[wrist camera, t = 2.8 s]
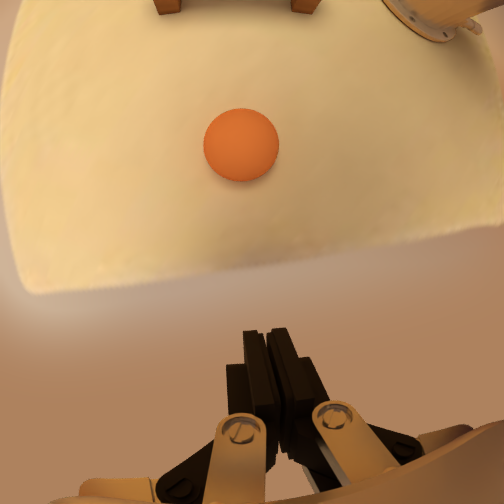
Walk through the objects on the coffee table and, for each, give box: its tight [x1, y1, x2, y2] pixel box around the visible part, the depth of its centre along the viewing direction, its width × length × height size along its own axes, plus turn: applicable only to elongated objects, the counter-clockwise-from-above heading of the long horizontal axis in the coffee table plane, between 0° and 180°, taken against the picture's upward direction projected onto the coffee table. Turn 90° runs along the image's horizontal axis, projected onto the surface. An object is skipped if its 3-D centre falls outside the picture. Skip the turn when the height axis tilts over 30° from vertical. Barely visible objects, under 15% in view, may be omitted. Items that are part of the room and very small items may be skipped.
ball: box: [203, 109, 279, 181], centre depth 19 cm, size 6×6×6 cm
